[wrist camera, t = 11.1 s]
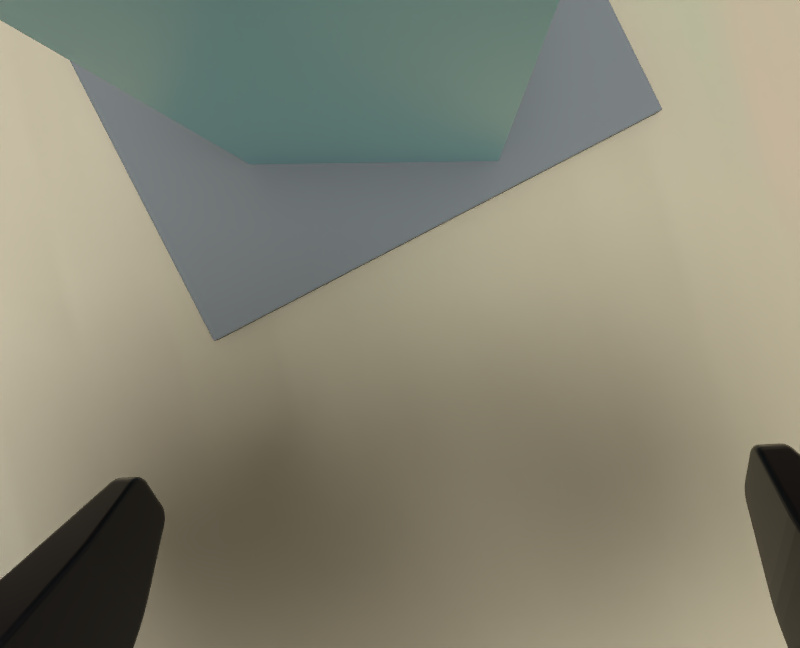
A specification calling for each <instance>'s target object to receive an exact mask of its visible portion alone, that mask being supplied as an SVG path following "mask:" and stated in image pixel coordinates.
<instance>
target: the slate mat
mask: <svg viewBox="0 0 800 648" xmlns="http://www.w3.org/2000/svg"><path fill="white" fill-rule="evenodd" d="M70 62H71V64H72V66H73V67H74V69H75V71H76V73H77V75H78V77H79V79H80V81H81V83H82V85H83V87H84V89H85V91H86V93H87V95H88V97H89V99H90V101H91V103H92V104H93V106H94V108H95V110H96V112H97V114H98V116H99V118H100V120H101V122H102V124H103V126H104V128H105V130H106V132H107V134H108V136H109V138H110V140H111V141H112V143H113V145H114V147H115V149H116V151H117V153H118V155H119V157H120V159H121V161H122V163H123V165H124V167H125V169H126V171H127V173H128V175H129V177H130V178H131V180H132V182H133V184H134V186H135V188H136V190H137V192H138V194H139V196H140V198H141V200H142V202H143V204H144V206H145V208H146V210H147V212H148V214H149V216H150V217H151V219H152V221H153V223H154V225H155V227H156V229H157V231H158V233H159V235H160V237H161V239H162V241H163V243H164V245H165V247H166V249H167V251H168V253H169V254H170V256H171V258H172V260H173V262H174V264H175V266H176V268H177V270H178V272H179V274H180V276H181V278H182V280H183V282H184V284H185V286H186V288H187V290H188V291H189V293H190V295H191V297H192V299H193V301H194V303H195V305H196V307H197V309H198V311H199V313H200V315H201V317H202V319H203V321H204V323H205V325H206V327H207V328H208V330H209V332H210V334H211V336H212V338H213V340H214V341H215V340H218V339H220V338H222V337H224V336H226V335H228V334H230V333H232V332H234V331H236V330H238V329H240V328H242V327H244V326H246V325H247V324H249V323H251V322H253V321H255V320H257V319H259V318H261V317H263V316H265V315H267V314H269V313H271V312H273V311H275V310H277V309H278V308H280V307H282V306H284V305H286V304H288V303H290V302H292V301H294V300H296V299H298V298H300V297H302V296H304V295H306V294H307V293H309V292H311V291H313V290H315V289H317V288H319V287H321V286H323V285H325V284H327V283H329V282H331V281H333V280H335V279H336V278H338V277H340V276H342V275H344V274H346V273H348V272H350V271H352V270H354V269H356V268H358V267H360V266H362V265H364V264H365V263H367V262H369V261H371V260H373V259H375V258H377V257H379V256H381V255H383V254H385V253H387V252H389V251H391V250H393V249H394V248H396V247H398V246H400V245H402V244H404V243H406V242H408V241H410V240H412V239H414V238H416V237H418V236H420V235H422V234H423V233H425V232H427V231H429V230H431V229H433V228H435V227H437V226H439V225H441V224H443V223H445V222H447V221H449V220H451V219H453V218H454V217H456V216H458V215H460V214H462V213H464V212H466V211H468V210H470V209H472V208H474V207H476V206H478V205H480V204H482V203H483V202H485V201H487V200H489V199H491V198H493V197H495V196H497V195H499V194H501V193H503V192H505V191H507V190H509V189H511V188H512V187H514V186H516V185H518V184H520V183H522V182H524V181H526V180H528V179H530V178H532V177H534V176H536V175H538V174H540V173H541V172H543V171H545V170H547V169H549V168H551V167H553V166H555V165H557V164H559V163H561V162H563V161H565V160H567V159H569V158H570V157H572V156H574V155H576V154H578V153H580V152H582V151H584V150H586V149H588V148H590V147H592V146H594V145H596V144H598V143H599V142H601V141H603V140H605V139H607V138H609V137H611V136H613V135H615V134H617V133H619V132H621V131H623V130H625V129H627V128H629V127H630V126H632V125H634V124H636V123H638V122H640V121H642V120H644V119H646V118H648V117H650V116H652V115H654V114H656V113H658V112H659V111H660V110H662V108H661V106H660V104H659V102H658V100H657V98H656V96H655V94H654V92H653V89H652V87H651V85H650V83H649V81H648V79H647V77H646V75H645V73H644V71H643V69H642V67H641V65H640V63H639V61H638V59H637V57H636V55H635V53H634V51H633V49H632V47H631V45H630V43H629V41H628V39H627V37H626V35H625V33H624V31H623V29H622V27H621V25H620V23H619V21H618V19H617V17H616V14H615V12H614V10H613V8H612V6H611V4H610V2H609V0H559V3H558V6H557V8H556V11H555V13H554V16H553V19H552V21H551V24H550V27H549V29H548V32H547V35H546V37H545V40H544V42H543V45H542V48H541V50H540V53H539V56H538V58H537V61H536V63H535V66H534V69H533V71H532V74H531V77H530V79H529V82H528V84H527V87H526V90H525V92H524V95H523V98H522V100H521V103H520V106H519V108H518V111H517V113H516V116H515V119H514V121H513V124H512V127H511V129H510V132H509V134H508V137H507V140H506V142H505V145H504V148H503V150H502V153H501V156H500V158H499V161H460V162H385V163H309V164H248V163H246V162H245V161H243V160H241V159H239V158H238V157H236V156H234V155H233V154H231V153H229V152H227V151H226V150H224V149H222V148H220V147H219V146H217V145H215V144H214V143H212V142H210V141H208V140H207V139H205V138H203V137H202V136H200V135H198V134H196V133H195V132H193V131H191V130H189V129H188V128H186V127H184V126H183V125H181V124H179V123H177V122H176V121H174V120H172V119H170V118H169V117H167V116H165V115H164V114H162V113H160V112H158V111H157V110H155V109H153V108H151V107H150V106H148V105H146V104H145V103H143V102H141V101H139V100H138V99H136V98H134V97H132V96H131V95H129V94H127V93H126V92H124V91H122V90H120V89H119V88H117V87H115V86H113V85H112V84H110V83H108V82H107V81H105V80H103V79H101V78H100V77H98V76H96V75H94V74H93V73H91V72H89V71H88V70H86V69H84V68H82V67H81V66H79V65H77V64H75V63H74V62H72V61H70Z"/></svg>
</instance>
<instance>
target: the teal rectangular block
mask: <svg viewBox="0 0 800 648" xmlns="http://www.w3.org/2000/svg"><path fill="white" fill-rule="evenodd" d="M558 3H559V0H0V20H1V21H3V22H5V23H6V24H8V25H10V26H12V27H13V28H15V29H17V30H18V31H20V32H22V33H24V34H25V35H27V36H29V37H31V38H32V39H34V40H36V41H37V42H39V43H41V44H43V45H44V46H46V47H48V48H50V49H51V50H53V51H55V52H56V53H58V54H60V55H62V56H63V57H65V58H67V59H69V60H70V61H72V62H74V63H75V64H77V65H79V66H81V67H82V68H84V69H86V70H88V71H89V72H91V73H93V74H94V75H96V76H98V77H100V78H101V79H103V80H105V81H107V82H108V83H110V84H112V85H113V86H115V87H117V88H119V89H120V90H122V91H124V92H126V93H127V94H129V95H131V96H132V97H134V98H136V99H138V100H139V101H141V102H143V103H145V104H146V105H148V106H150V107H151V108H153V109H155V110H157V111H158V112H160V113H162V114H164V115H165V116H167V117H169V118H170V119H172V120H174V121H176V122H177V123H179V124H181V125H183V126H184V127H186V128H188V129H189V130H191V131H193V132H195V133H196V134H198V135H200V136H202V137H203V138H205V139H207V140H208V141H210V142H212V143H214V144H215V145H217V146H219V147H220V148H222V149H224V150H226V151H227V152H229V153H231V154H233V155H234V156H236V157H238V158H239V159H241V160H243V161H245V162H246V163H248V164H309V163H385V162H460V161H499V158H500V156H501V153H502V150H503V148H504V145H505V142H506V140H507V137H508V134H509V132H510V129H511V127H512V124H513V121H514V119H515V116H516V113H517V111H518V108H519V106H520V103H521V100H522V98H523V95H524V92H525V90H526V87H527V84H528V82H529V79H530V77H531V74H532V71H533V69H534V66H535V63H536V61H537V58H538V56H539V53H540V50H541V48H542V45H543V42H544V40H545V37H546V35H547V32H548V29H549V27H550V24H551V21H552V19H553V16H554V13H555V11H556V8H557V6H558Z"/></svg>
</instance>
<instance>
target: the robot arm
mask: <svg viewBox="0 0 800 648" xmlns="http://www.w3.org/2000/svg"><path fill="white" fill-rule="evenodd" d="M745 496H746V502H747V506H748V510H749V514H750V518H751V522H752V526H753V529H754V533H755V537H756V541H757V545H758V549H759V553H760V557H761V561H762V565H763V569H764V573H765V577H766V581H767V584H768V588H769V592H770V596H771V600H772V603H773V607H774V610H775V613H776V616H777V619H778V622H779V625H780V628H781V630H782V633H783V636H784V638H785V641H786V643H787V646H788V648H800V454H799V453H798V452H796V451H795V450H794V449H793V448H792V447H790V446H788V445H786V444H762V445H755V446H754V447H753V448H752V449H751V452H750V457H749V463H748V469H747V474H746V480H745ZM164 521H165V515H164V510H163V507H162V505H161V504H160V502H159V501H158V499H157V498H156V496H155V495H154V493H153V492H152V490H151V488H150V487H149V485H148V484H147V482H146V481H145V480H144V479H142V478H140V477H128V478H118V479H116V480H114V481H112V482H111V483H110V484H109V485H108V486H106V487H105V488H104V489H103V490H102V491H101V492H100V493H98V494H97V495H96V496H95V497H94V498H93V499H92V500H91V501H89V502H88V503H87V504H86V505H85V506H84V507H83V508H81V509H80V510H79V511H78V512H77V513H76V514H75V515H73V516H72V517H71V518H70V519H69V520H68V521H67V522H66V523H64V524H63V525H62V526H61V527H60V528H59V529H58V530H56V531H55V532H54V533H53V534H52V535H51V536H50V537H49V538H47V539H46V540H45V541H44V542H43V543H42V544H41V545H39V546H38V547H37V548H36V549H35V550H34V551H33V552H31V553H30V554H29V555H28V556H27V557H26V558H25V559H24V560H22V561H21V562H20V563H19V564H18V565H17V566H16V567H14V568H13V569H12V570H11V571H10V572H9V573H8V574H6V575H5V576H4V577H3V578H2V579H1V580H0V648H133V647H134V644H135V641H136V638H137V635H138V632H139V629H140V626H141V622H142V619H143V616H144V612H145V608H146V604H147V600H148V596H149V591H150V587H151V582H152V577H153V573H154V568H155V564H156V559H157V555H158V550H159V545H160V541H161V536H162V532H163V527H164Z"/></svg>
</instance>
